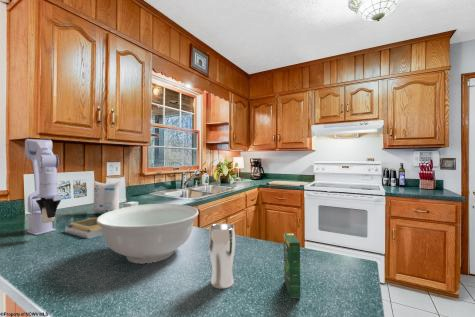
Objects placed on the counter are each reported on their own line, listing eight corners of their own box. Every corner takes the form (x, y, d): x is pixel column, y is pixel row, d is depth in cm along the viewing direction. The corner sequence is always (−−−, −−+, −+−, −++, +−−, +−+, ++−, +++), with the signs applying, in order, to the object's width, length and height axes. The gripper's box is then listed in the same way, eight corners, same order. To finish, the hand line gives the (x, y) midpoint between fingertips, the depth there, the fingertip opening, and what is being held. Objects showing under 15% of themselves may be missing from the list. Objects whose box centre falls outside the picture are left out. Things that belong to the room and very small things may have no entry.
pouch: (112, 217, 135) (112, 182, 135) (88, 214, 142) (88, 181, 142) (124, 214, 142) (123, 180, 142) (100, 212, 149) (100, 180, 149)
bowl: (174, 282, 64) (173, 227, 64) (70, 272, 70) (70, 222, 70) (209, 241, 96) (209, 204, 96) (136, 236, 102) (136, 202, 101)
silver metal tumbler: (209, 276, 67) (209, 223, 67) (234, 275, 67) (234, 222, 67) (208, 290, 60) (208, 230, 60) (236, 289, 60) (236, 230, 60)
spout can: (40, 222, 98) (40, 205, 98) (51, 219, 101) (51, 203, 101) (44, 223, 96) (44, 206, 96) (56, 221, 100) (56, 204, 100)
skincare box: (131, 229, 112) (130, 203, 112) (123, 228, 113) (122, 203, 113) (138, 225, 118) (138, 201, 118) (131, 225, 119) (131, 201, 119)
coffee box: (283, 280, 64) (283, 232, 64) (294, 280, 64) (293, 232, 64) (288, 298, 56) (288, 242, 56) (301, 298, 56) (300, 242, 56)
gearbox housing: (65, 232, 108) (65, 223, 108) (98, 224, 121) (98, 216, 121) (87, 238, 99) (87, 229, 99) (120, 229, 112) (120, 220, 112)
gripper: (28, 183, 99) (28, 216, 99) (44, 185, 92) (45, 221, 92) (48, 182, 105) (48, 213, 105) (65, 183, 98) (65, 217, 98)
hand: (48, 216), depth 99 cm, fingers closed on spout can, 4 cm apart
